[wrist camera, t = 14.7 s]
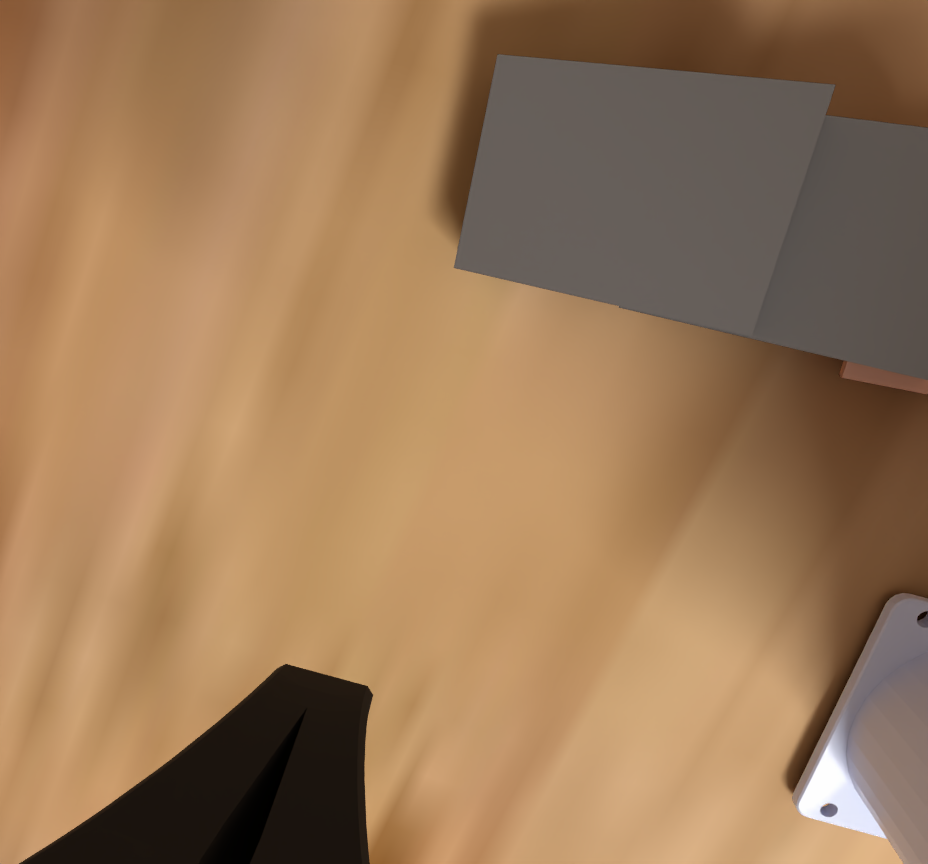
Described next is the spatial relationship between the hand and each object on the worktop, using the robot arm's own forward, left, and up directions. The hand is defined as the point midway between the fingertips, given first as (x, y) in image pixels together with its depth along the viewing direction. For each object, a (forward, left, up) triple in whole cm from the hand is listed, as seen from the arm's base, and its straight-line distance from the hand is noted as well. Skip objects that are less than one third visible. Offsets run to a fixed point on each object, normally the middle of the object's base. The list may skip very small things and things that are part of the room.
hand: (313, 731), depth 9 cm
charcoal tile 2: (-4, -9, -9) cm, 14 cm away
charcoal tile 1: (0, -9, -9) cm, 13 cm away
